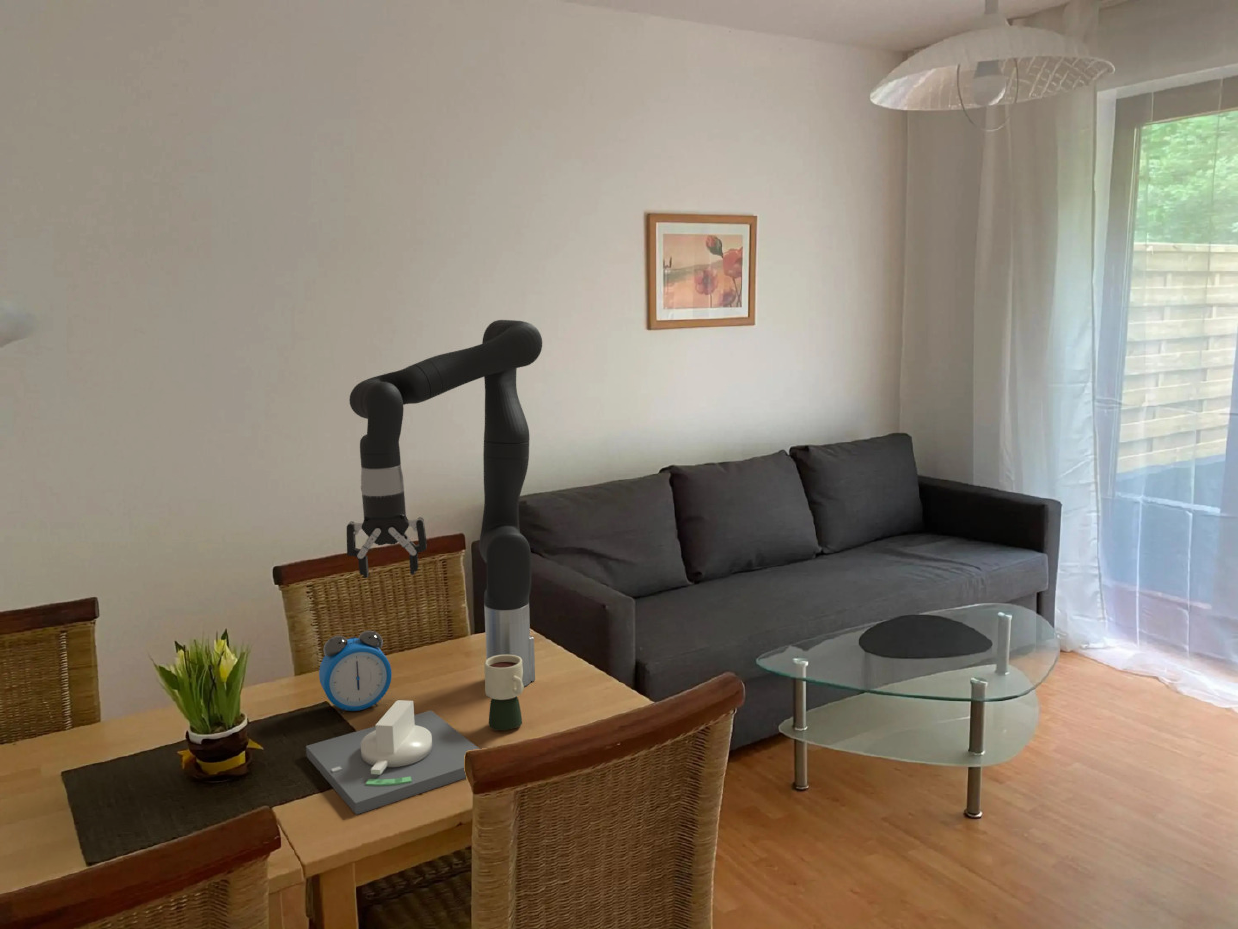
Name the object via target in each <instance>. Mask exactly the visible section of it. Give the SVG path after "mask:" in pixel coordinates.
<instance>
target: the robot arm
mask: <svg viewBox="0 0 1238 929" xmlns="http://www.w3.org/2000/svg"><path fill="white" fill-rule="evenodd" d="M541 334H542V333H540V331H539V329H537V327H536V326H535V325H534V324H532V323H529V322H526V321H521V320H515V319H514V320H511V319H497V320H493V321H492V322H491V323H490V324H488V326H487V327H486V329H485V331H484V333H483V336H482V342H481V344H477V345H475V346H474V345H473V346H471V347H467V348H464V349H460V350H455V351H450V352H446V353H441V354H438V355H434V356H431V357H429V358H426V359H423V360H421V361H418V362H416V363H414V364H411V365H408V366H407V367H405V368H403V369H400V370H396V371H391V372H387V373H384V374H381V375H380V374H379V375H376V376H373V377H370V378H366V379H365V380H362V381H361V382H359V383H358V384H356V385H355V386H354V387H353V389H352V390H351V391H350V394H349V406H350V408H351V410H352V411H353V412H354V414H356V415H357V416H359V417H360V418H362V419H366V420H367V428H366V429H367V430H366V434H364V435H363V436H362V437H361V438H360V441H359V453H360V454H359V456H360V458H359V459H360V466H361V467H360V468H361V469H360V471H361V473H360V484H361V485H360V491H361V498H362V509H363V512H362V513H363V521H362V522H354V521H349V522H348V523H347V526H346V554H347V556H349V557H355V558H357V560H358V561H357V562H358V571H359V572H358V573H359V574H360V575H359V576H363V578H364V579H368V578H369V577H370V576H369V574H370V573H369V563H368V562H369V561H368V555H367V553H368V551H369V550H370V549H371V547H372V546H373V545H374V544H375V545H377V546H385V545H396V544H398V543H399V545H401V547H402V548H404V549H405V550H406V552H408V553H409V556H408V557H409V572H410V573H409V574H410V575H411V576H412V575H413V576H414V575H415V574H416V572H418V569H419V553H421V552H425V551H426V550H427V547H428V542H427V535H426V529H425V528H426V527H425V520H424V517H422V516H421V517H420V516H419V517H418V518H417V519H408V517H407V513H406V512H407V510H406V497H405V484H404V475H403V470H402V465H401V464H402V463H401V462H402V461H401V448H400V437H401V434H402V433H401V432H402V425H403V420H404V419H403V418H404V406H405V405H411V404H412V405H413V404H420V403H423V402H426V401H429V400H430V399H433V398H435V397H438V396H440V395H442V394H444V393H446V392H449V391H451V390H454V389H456V388H459V387H460V386H463V385H465V384H468V383H470V382H473V381H476V380H479V379H482V378H483V379H484V431H483V454H482V455H483V493H484V496H483V497H484V503H483V504H484V505H483V513H482V522H481V529H480V535H479V546H478V547H479V552H480V553H479V554H480V556H481V558H482V560H483V562H484V563H486V589H485V590H484V594H483V602H484V603H483V604H484V628H485V630H484V631H485V653H486V654H485V655H486V660H487V659H488V658H490V657H493V656H497V655H515V656H519V657H520V658H521V659H522V667H523V677H522V683H523V686H524V687H526V686H528V685H529V684H531V681H532V682H534V681H536V665H535V663H536V662H535V660H536V659H535V639H534V638H535V637H533V636H532V635H531V629H530V627H531V626H530V624H531V622H530V594H531V588H532V552H531V551H532V550H531V546H530V543H529V541H528V540H527V538H526V537H525V536H524V535H523V534H522V533H521V531H520V515H519V514H520V513H519V510H520V509H519V506H520V505H519V503H520V497H521V493H522V489H523V486H524V483H525V480H526V478H527V472H528V468H529V460H530V429H529V425H528V422H527V418H526V415H525V414H524V411H523V406H522V404H521V402H520V399H519V395H518V391H517V369H519V368H524V367H527V366H530V365H531V364H533V363H534V362H535V361H537V359H538V358H539V356H540V354H541V352H542V349H543V338H542V335H541ZM410 527H411V528H412V530H413V532H416V533H417V540H418V544H415V543H414V542H413V541H412V540H411V538H410V537H409V535H407V534H406V532H407V530H408V529H409V528H410ZM360 530H362V531H363V532H364V534H366V536H367V539H366V540H365V542H364V544H362V546H361V548H357V546H356V544H357V543H356V535H358V534H359V533H360ZM486 660H485V661H486Z"/></svg>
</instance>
